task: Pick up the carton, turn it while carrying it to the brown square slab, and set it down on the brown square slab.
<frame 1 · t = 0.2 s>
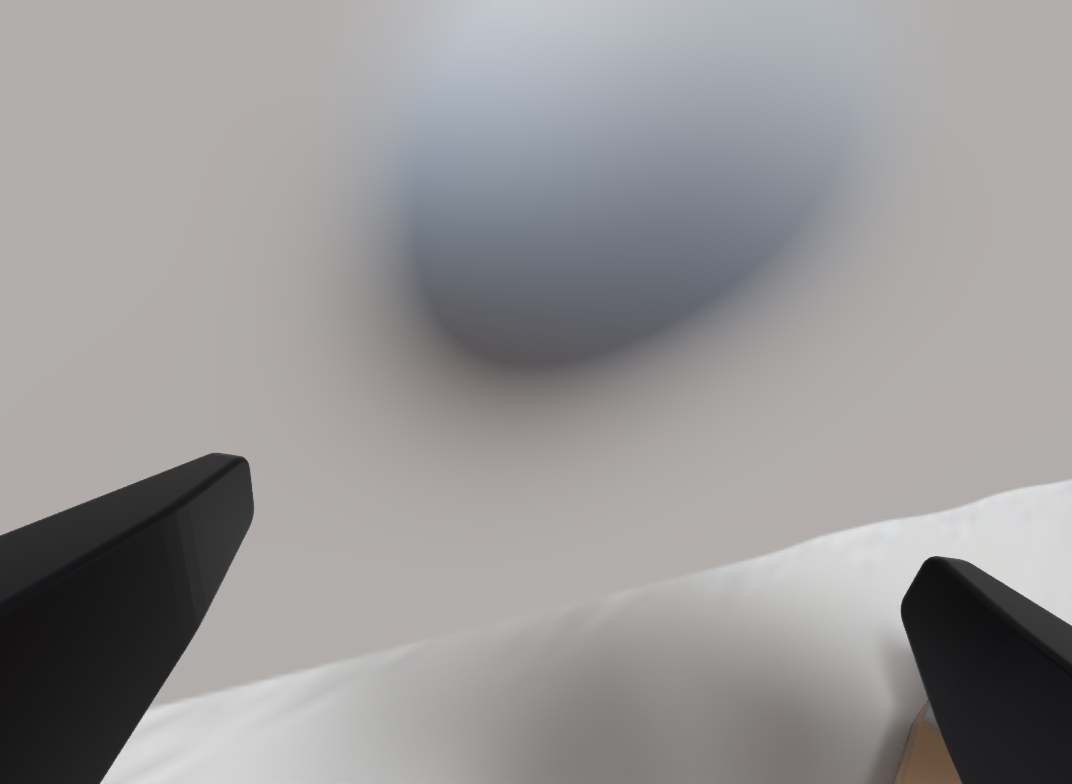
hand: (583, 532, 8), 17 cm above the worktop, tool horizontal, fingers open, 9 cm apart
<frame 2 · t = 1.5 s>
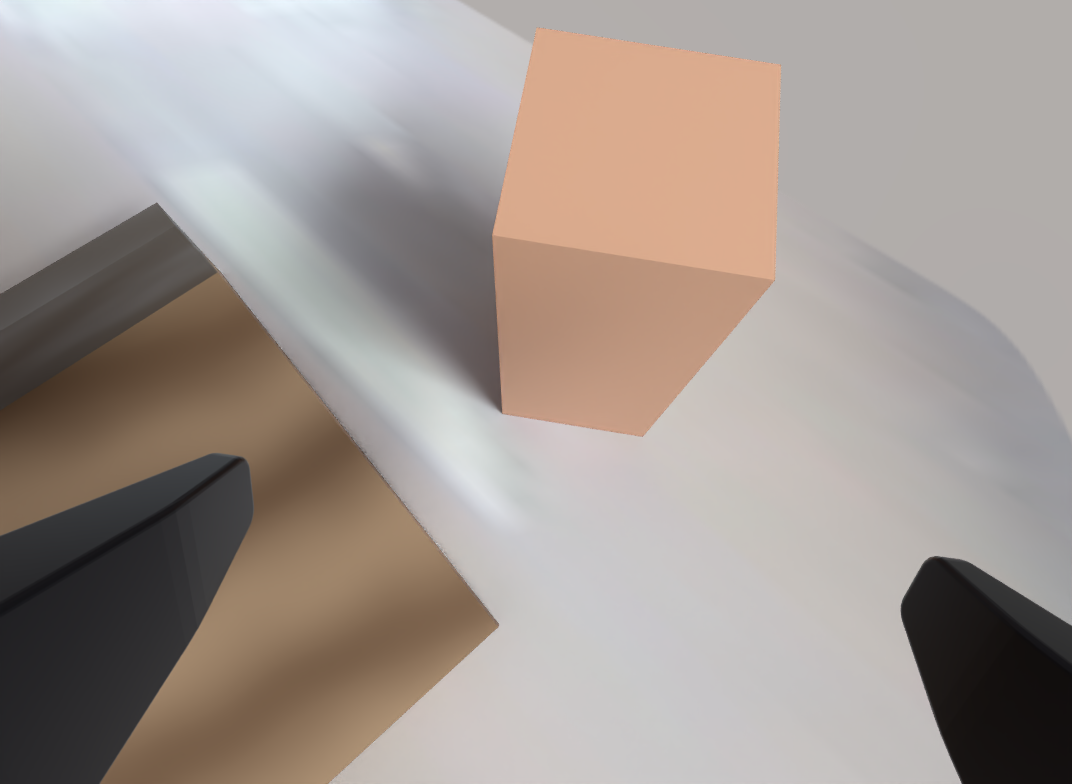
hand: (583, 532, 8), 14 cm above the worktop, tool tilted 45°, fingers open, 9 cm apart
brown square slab: (127, 597, 20), on the worktop
carton: (581, 360, 23), on the worktop
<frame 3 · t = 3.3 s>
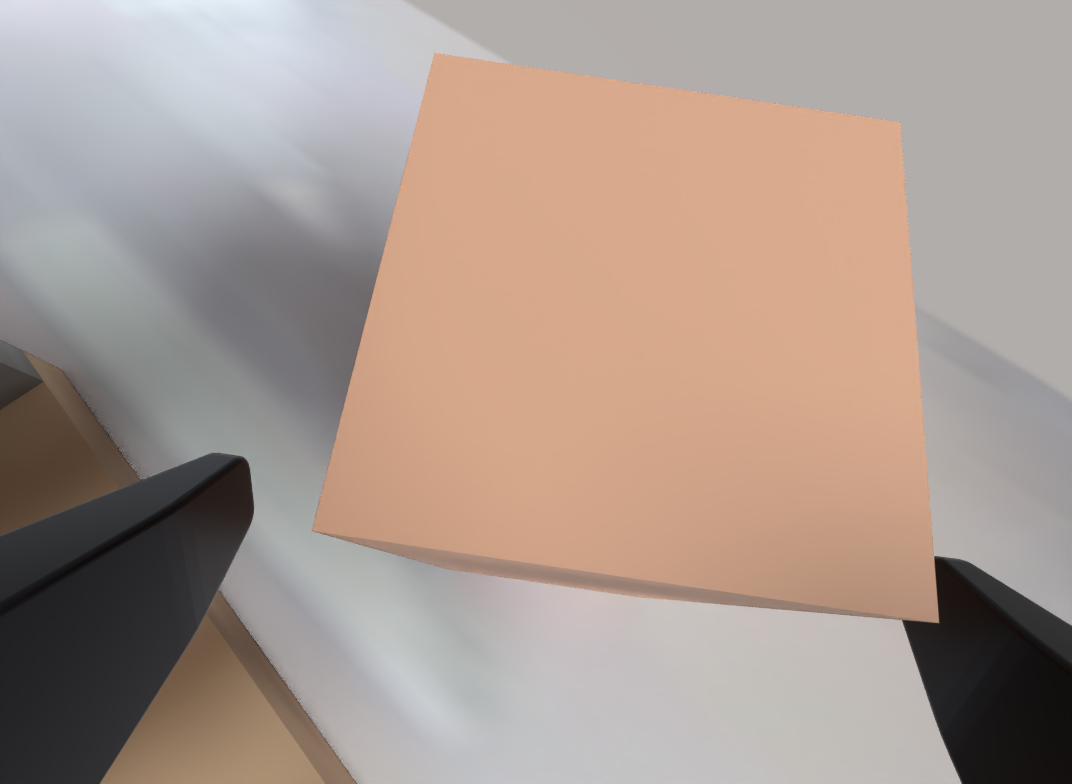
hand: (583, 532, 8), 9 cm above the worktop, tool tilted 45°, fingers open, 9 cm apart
carton: (555, 486, 17), on the worktop
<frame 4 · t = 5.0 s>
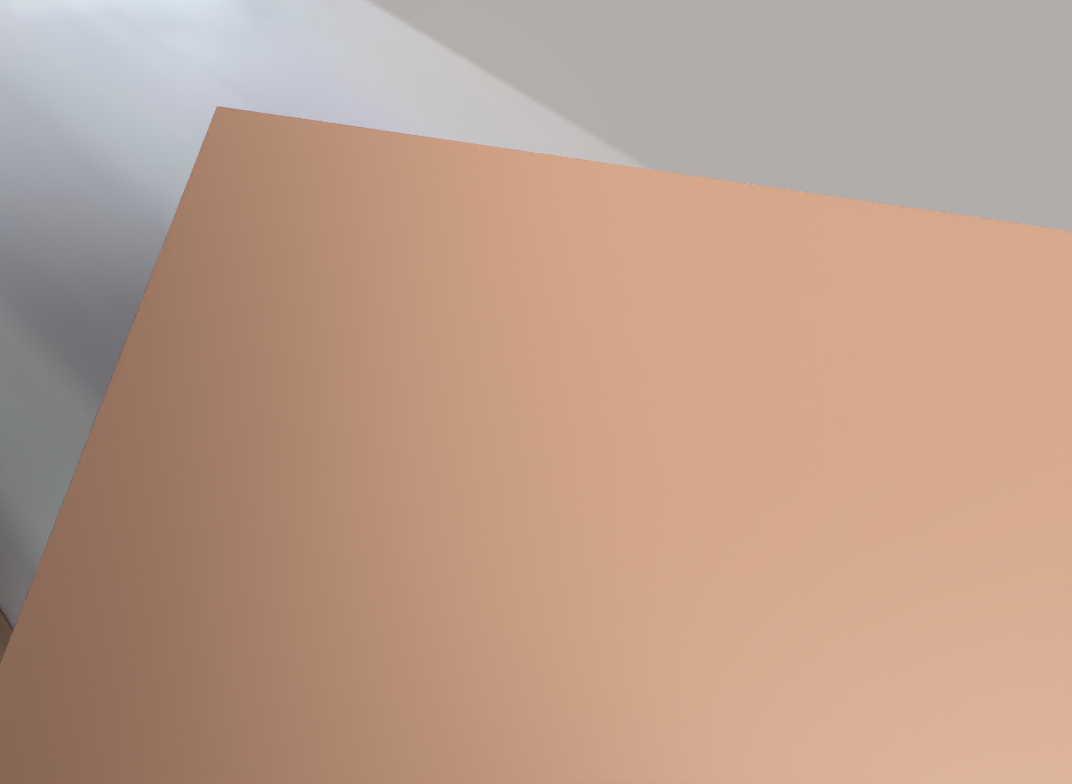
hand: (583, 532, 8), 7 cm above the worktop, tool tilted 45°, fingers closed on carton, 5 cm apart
carton: (540, 616, 14), on the worktop, touching gripper
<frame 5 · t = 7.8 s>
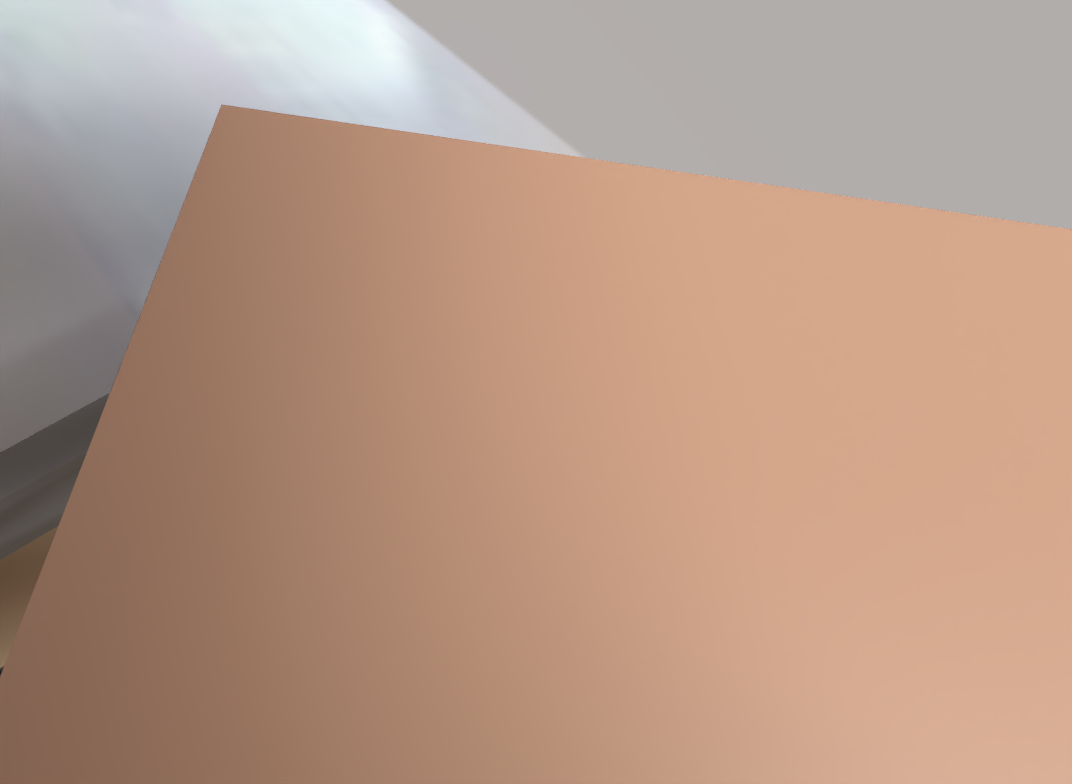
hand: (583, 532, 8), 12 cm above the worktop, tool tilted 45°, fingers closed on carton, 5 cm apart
carton: (541, 615, 14), point 6 cm above the worktop, touching gripper
when the fingers open (9 cm above the worktop, at t = 10.7 s): carton stays where it is, resting on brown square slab.
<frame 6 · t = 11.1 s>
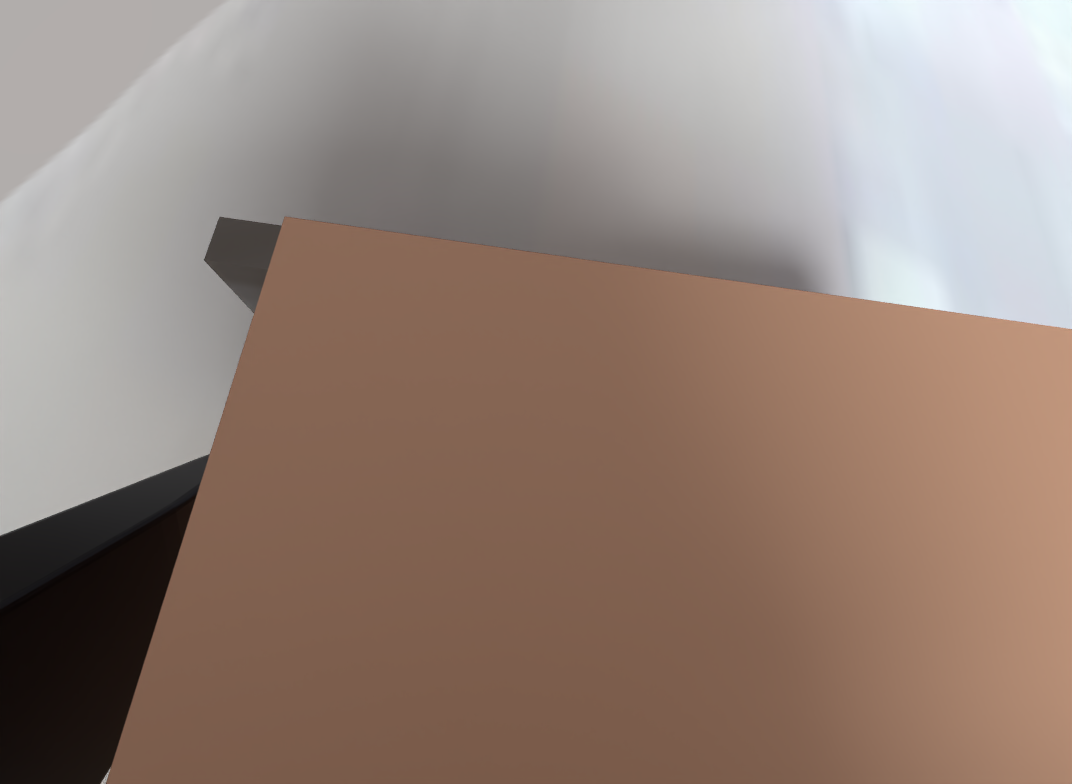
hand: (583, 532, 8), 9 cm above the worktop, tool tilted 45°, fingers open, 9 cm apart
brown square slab: (530, 650, 16), on the worktop
carton: (539, 613, 14), point 1 cm above the worktop, touching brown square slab
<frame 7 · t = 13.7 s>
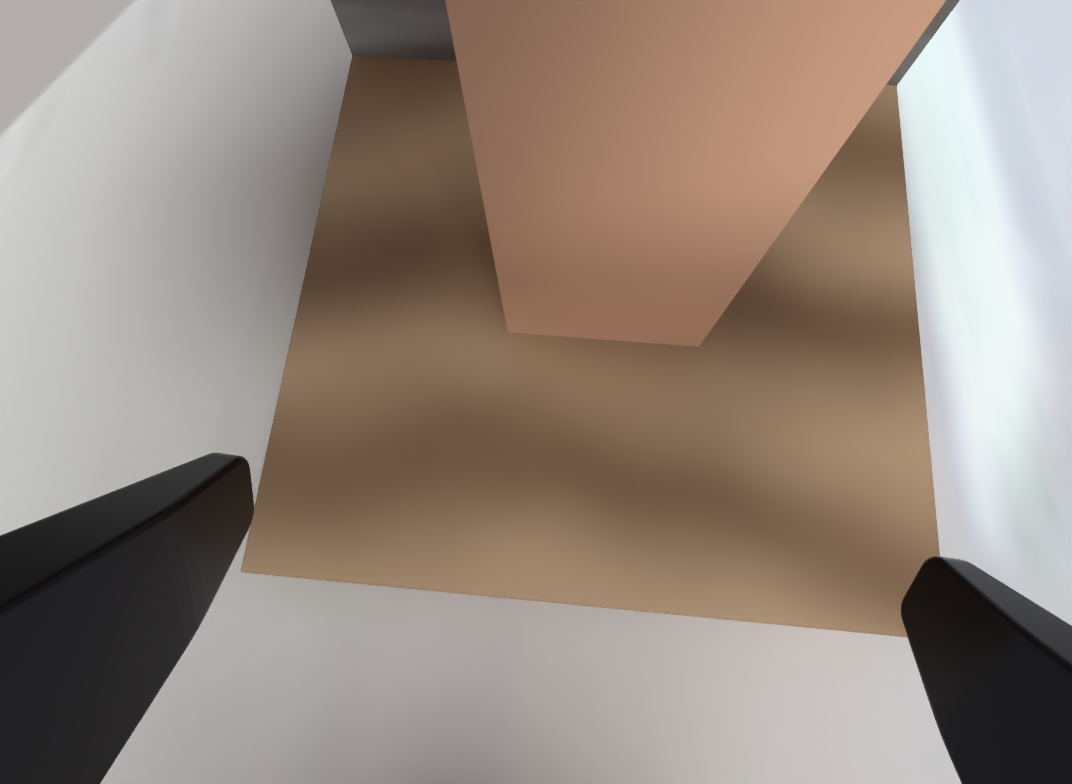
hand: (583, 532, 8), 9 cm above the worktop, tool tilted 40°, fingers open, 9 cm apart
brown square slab: (600, 305, 19), on the worktop
carton: (607, 253, 18), point 1 cm above the worktop, touching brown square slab
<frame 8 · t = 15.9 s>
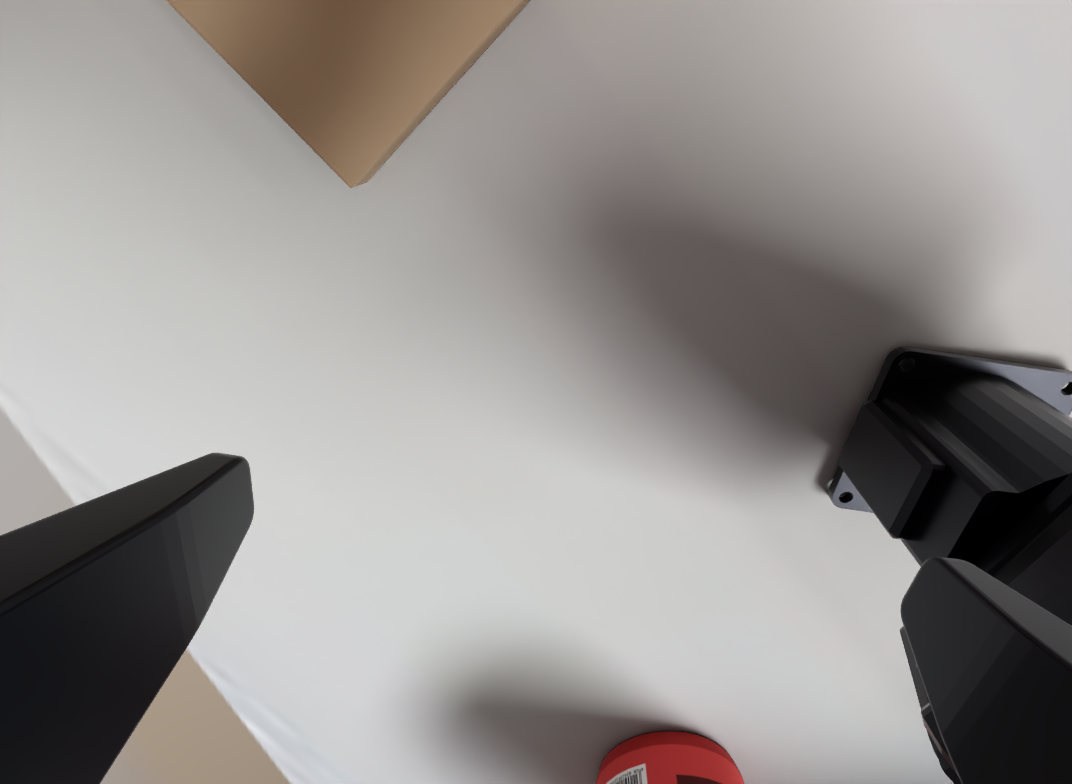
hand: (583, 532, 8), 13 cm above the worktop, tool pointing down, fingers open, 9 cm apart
canned food: (665, 770, 31), on the worktop
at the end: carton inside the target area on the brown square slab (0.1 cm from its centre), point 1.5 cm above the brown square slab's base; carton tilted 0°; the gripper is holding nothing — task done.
